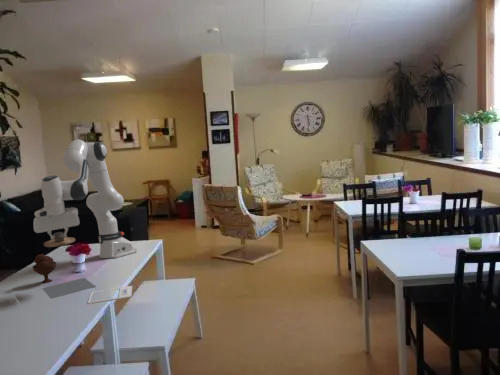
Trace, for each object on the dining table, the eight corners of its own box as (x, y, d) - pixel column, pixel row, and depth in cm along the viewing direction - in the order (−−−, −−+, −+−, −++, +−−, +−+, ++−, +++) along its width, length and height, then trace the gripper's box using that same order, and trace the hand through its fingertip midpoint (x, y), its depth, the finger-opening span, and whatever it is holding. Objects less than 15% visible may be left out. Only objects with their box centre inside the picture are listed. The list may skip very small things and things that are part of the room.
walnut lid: (70, 237, 220) (69, 228, 219) (78, 242, 209) (77, 231, 208) (40, 244, 212) (39, 234, 211) (47, 248, 201) (46, 238, 200)
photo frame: (131, 295, 191) (87, 302, 187) (131, 298, 191) (88, 304, 187) (132, 285, 205) (91, 291, 201) (132, 287, 205) (92, 293, 201)
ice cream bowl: (49, 285, 217) (45, 256, 215) (30, 286, 219) (26, 257, 217) (63, 278, 227) (59, 250, 225) (44, 279, 229) (40, 251, 227)
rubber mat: (84, 278, 224) (84, 277, 224) (96, 287, 208) (96, 286, 208) (42, 289, 213) (42, 288, 212) (51, 299, 196) (51, 298, 196)
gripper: (75, 205, 217) (79, 232, 219) (30, 213, 205) (35, 241, 207) (79, 206, 212) (82, 234, 214) (33, 214, 200) (37, 243, 202)
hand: (59, 238), depth 210 cm, fingers closed on walnut lid, 4 cm apart
